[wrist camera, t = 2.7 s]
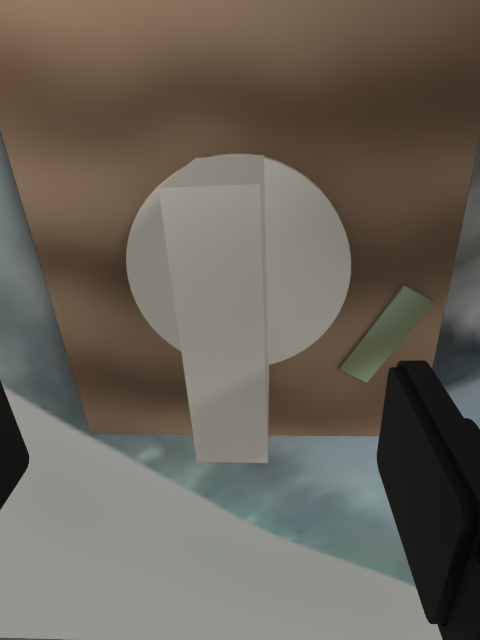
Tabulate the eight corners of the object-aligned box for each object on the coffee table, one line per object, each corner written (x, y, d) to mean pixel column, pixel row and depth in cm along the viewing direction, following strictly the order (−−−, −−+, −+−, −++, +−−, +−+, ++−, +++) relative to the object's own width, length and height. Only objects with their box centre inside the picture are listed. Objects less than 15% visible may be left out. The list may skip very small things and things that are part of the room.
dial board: (0, 3, 16) (-46, -13, 14) (482, -36, 15) (523, -62, 12) (106, 404, 26) (89, 435, 23) (404, 405, 24) (419, 439, 22)
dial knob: (114, 158, 16) (24, 193, 10) (355, 147, 15) (407, 178, 9) (164, 426, 22) (126, 541, 16) (334, 428, 21) (357, 549, 16)
